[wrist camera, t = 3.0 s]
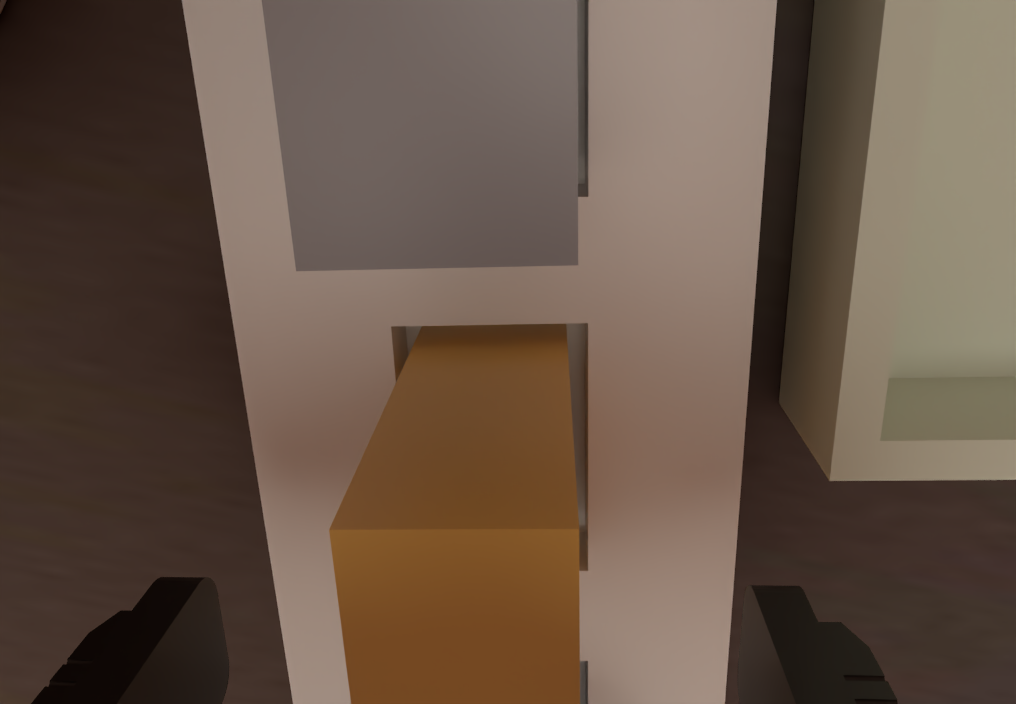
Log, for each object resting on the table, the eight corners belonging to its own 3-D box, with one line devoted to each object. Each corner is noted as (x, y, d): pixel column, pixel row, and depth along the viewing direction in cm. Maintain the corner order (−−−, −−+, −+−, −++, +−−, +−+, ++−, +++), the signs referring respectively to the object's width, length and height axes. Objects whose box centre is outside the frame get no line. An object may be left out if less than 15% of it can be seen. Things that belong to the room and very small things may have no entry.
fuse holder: (336, 791, 23) (317, 857, 21) (201, -161, 15) (151, -191, 13) (698, 797, 22) (712, 865, 20) (761, -189, 14) (793, -225, 12)
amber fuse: (438, 517, 19) (366, 824, 11) (424, 321, 17) (328, 529, 10) (567, 517, 19) (580, 827, 11) (566, 319, 17) (579, 528, 10)
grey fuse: (412, 168, 16) (296, 271, 9) (392, -106, 15) (227, -270, 7) (564, 164, 16) (578, 266, 9) (561, -114, 14) (576, -291, 7)
